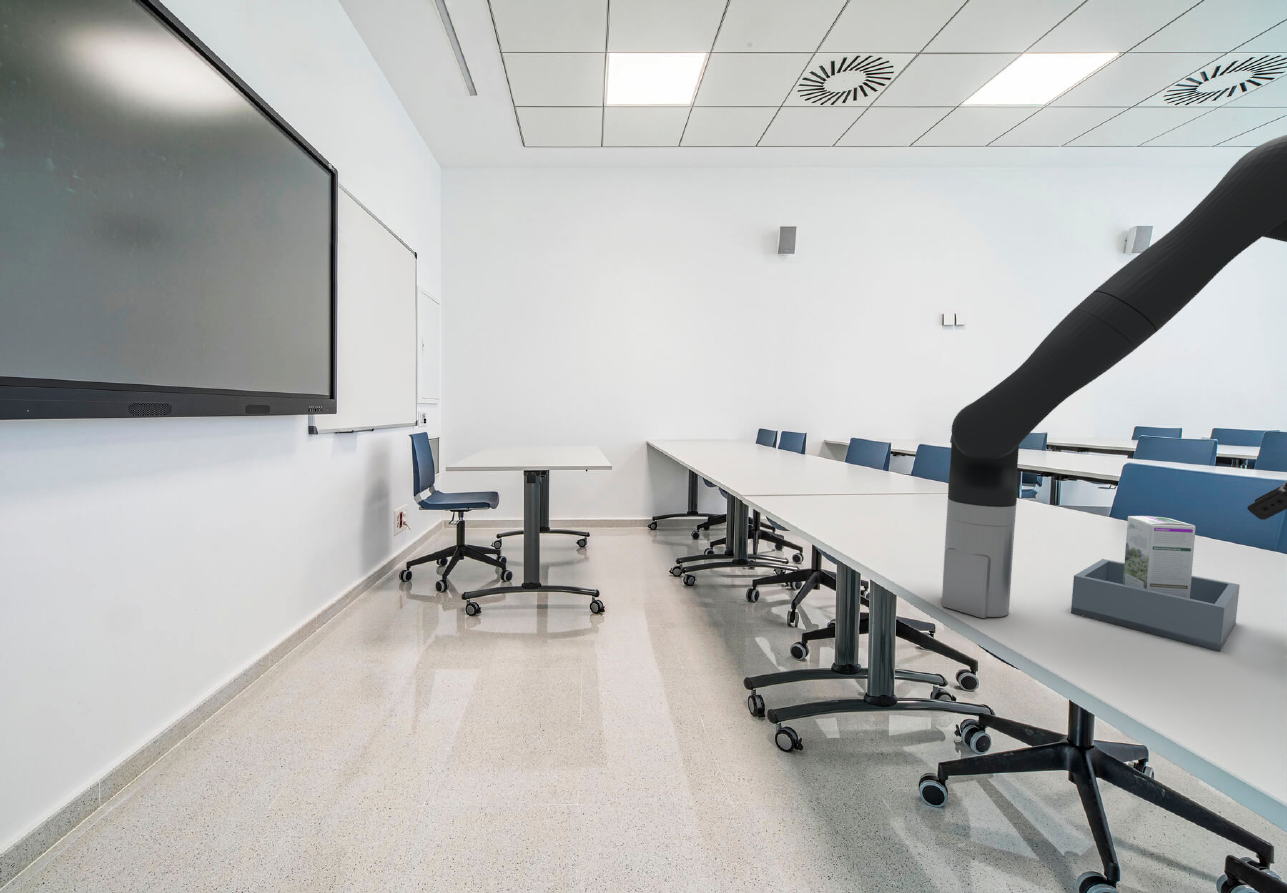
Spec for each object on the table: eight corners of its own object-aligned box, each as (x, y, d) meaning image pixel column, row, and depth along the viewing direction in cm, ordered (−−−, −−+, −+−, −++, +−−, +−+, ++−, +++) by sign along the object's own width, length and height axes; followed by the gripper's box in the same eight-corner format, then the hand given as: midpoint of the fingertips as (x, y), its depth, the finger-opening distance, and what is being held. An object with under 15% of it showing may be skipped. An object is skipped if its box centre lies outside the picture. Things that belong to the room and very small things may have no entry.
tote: (1219, 651, 70) (1224, 607, 70) (1070, 612, 83) (1073, 575, 83) (1235, 623, 80) (1239, 584, 80) (1099, 592, 93) (1102, 558, 92)
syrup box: (1190, 621, 78) (1199, 524, 77) (1142, 617, 79) (1151, 522, 78) (1162, 607, 83) (1171, 516, 82) (1118, 603, 85) (1126, 514, 84)
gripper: (1376, 408, 69) (1236, 484, 79) (1380, 408, 60) (1222, 493, 70) (1444, 452, 65) (1288, 526, 75) (1459, 458, 56) (1281, 540, 67)
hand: (1257, 510), depth 73 cm, fingers open, 8 cm apart
